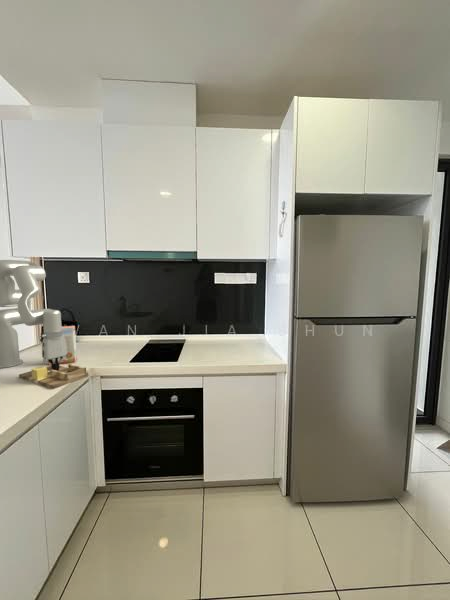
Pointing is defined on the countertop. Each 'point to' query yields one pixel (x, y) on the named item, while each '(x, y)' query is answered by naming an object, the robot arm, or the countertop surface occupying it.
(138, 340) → the countertop surface
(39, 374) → the cube
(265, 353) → the countertop surface
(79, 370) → the cubby
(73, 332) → the cracker box
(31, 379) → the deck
